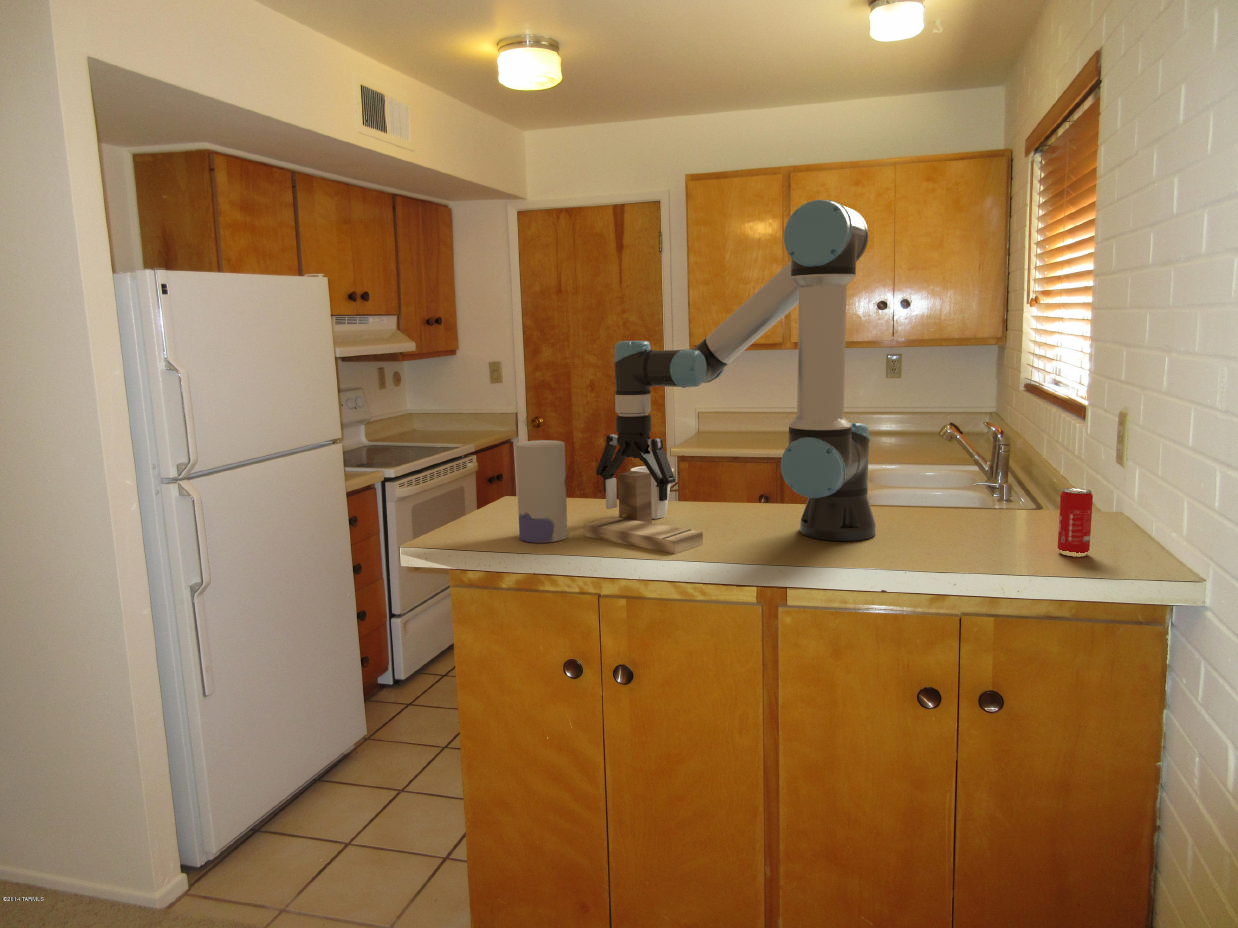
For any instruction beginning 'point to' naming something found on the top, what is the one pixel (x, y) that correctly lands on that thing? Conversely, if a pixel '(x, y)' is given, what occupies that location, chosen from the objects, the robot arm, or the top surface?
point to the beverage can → (1075, 520)
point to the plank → (644, 534)
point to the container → (541, 491)
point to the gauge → (635, 496)
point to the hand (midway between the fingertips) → (635, 511)
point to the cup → (653, 483)
